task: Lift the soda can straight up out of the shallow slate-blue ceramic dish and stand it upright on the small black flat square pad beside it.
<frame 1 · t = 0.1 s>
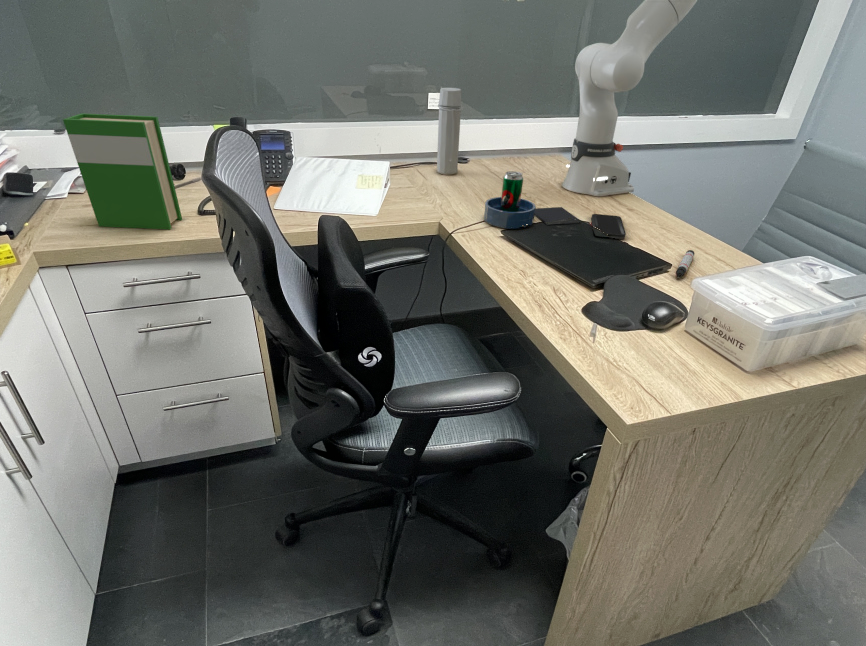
hand: (513, 1, 138), 48 cm above the table, tool pointing down, fingers open, 8 cm apart
phone: (606, 228, 143), on the table
soda can: (508, 220, 145), resting on dish
marker: (682, 269, 123), on the table
dish: (508, 221, 145), on the table
hardback book: (141, 223, 136), on the table
black flat square pad: (554, 217, 149), on the table
water bottle: (447, 174, 182), on the table
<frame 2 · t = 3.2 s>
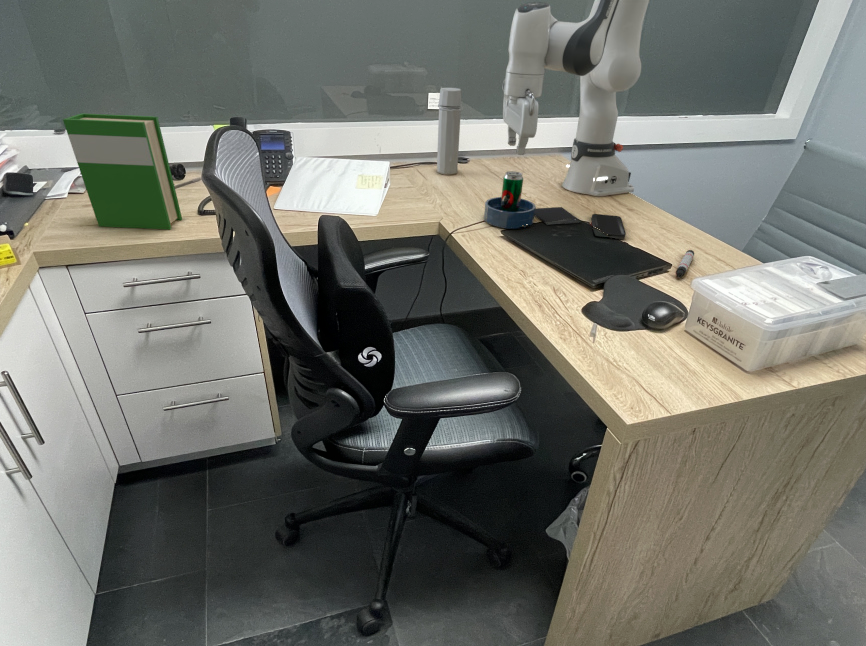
hand: (515, 149, 134), 18 cm above the table, tool pointing down, fingers open, 8 cm apart
nothing on the table moved.
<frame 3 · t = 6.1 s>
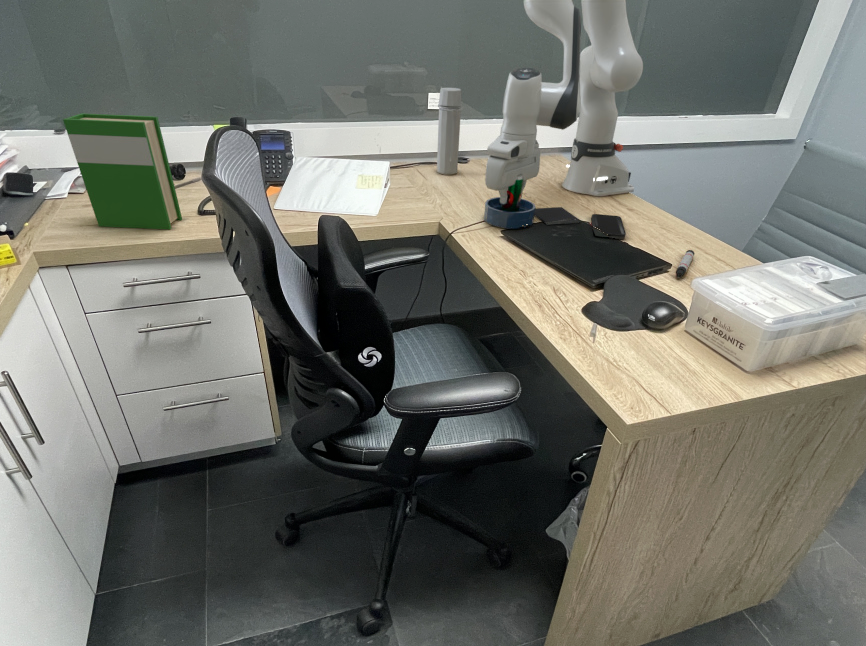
hand: (510, 200, 142), 6 cm above the table, tool pointing down, fingers closed on soda can, 5 cm apart
soda can: (508, 220, 145), resting on dish, touching gripper
everything else where it was.
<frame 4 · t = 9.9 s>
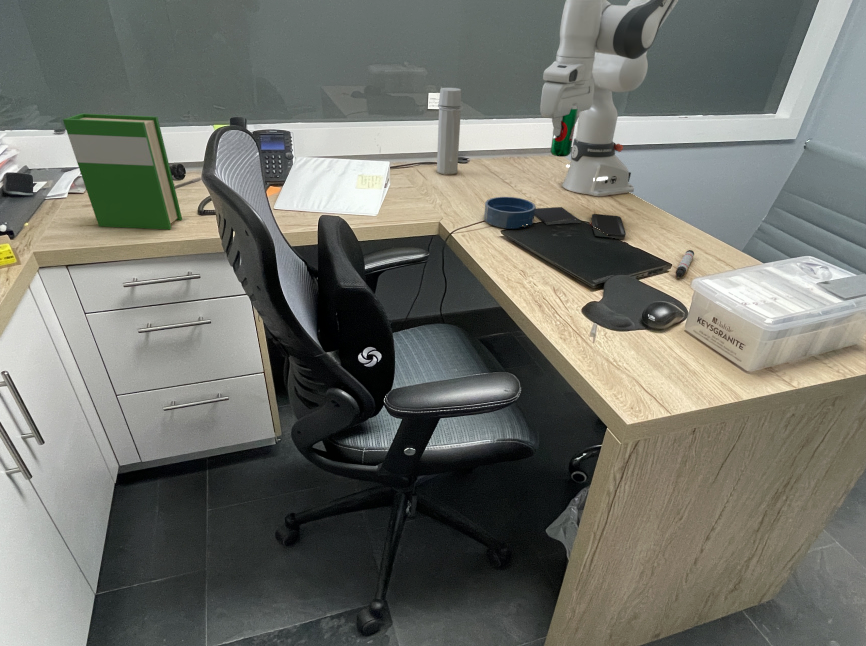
hand: (563, 133, 136), 21 cm above the table, tool pointing down, fingers closed on soda can, 5 cm apart
soda can: (559, 155, 139), point 16 cm above the table, touching gripper
everything else where it was.
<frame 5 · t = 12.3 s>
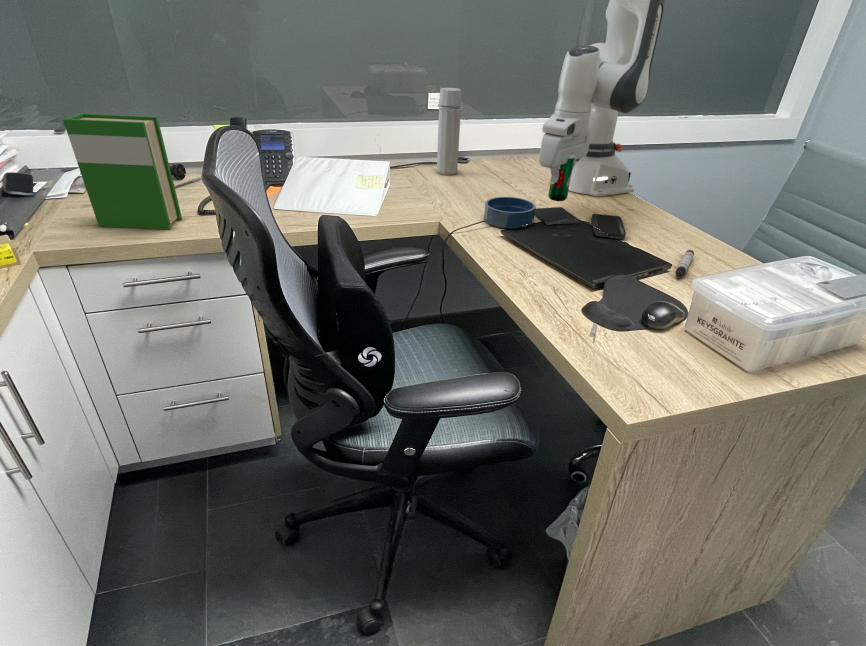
hand: (560, 179, 143), 10 cm above the table, tool pointing down, fingers closed on soda can, 5 cm apart
soda can: (557, 199, 146), point 5 cm above the table, touching gripper
everything else where it was.
when the fingers open (5 cm above the table, at t = 13.9 s): soda can stays where it is, resting on black flat square pad.
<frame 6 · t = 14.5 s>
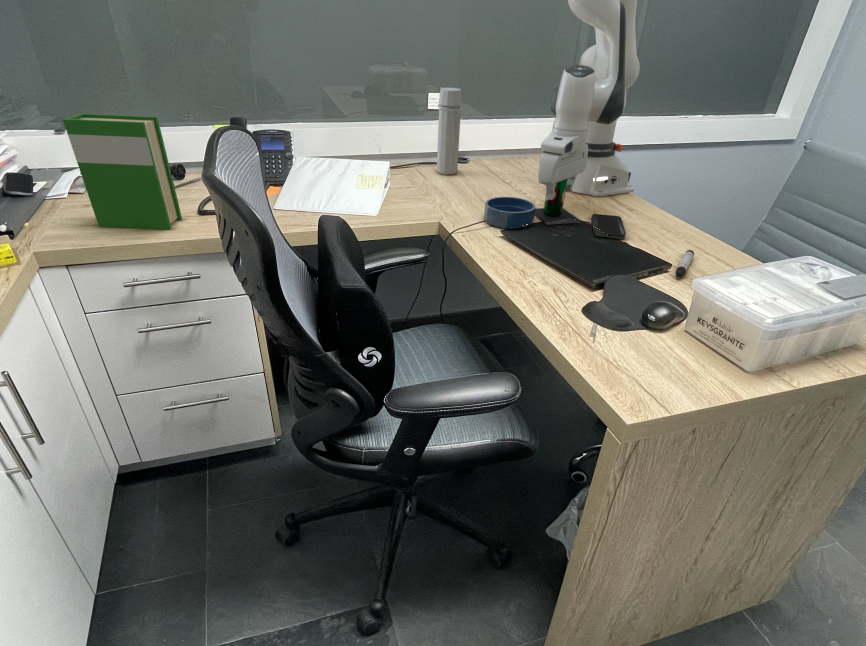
hand: (559, 195, 145), 6 cm above the table, tool pointing down, fingers open, 8 cm apart
soda can: (552, 215, 149), resting on black flat square pad
everything else where it was.
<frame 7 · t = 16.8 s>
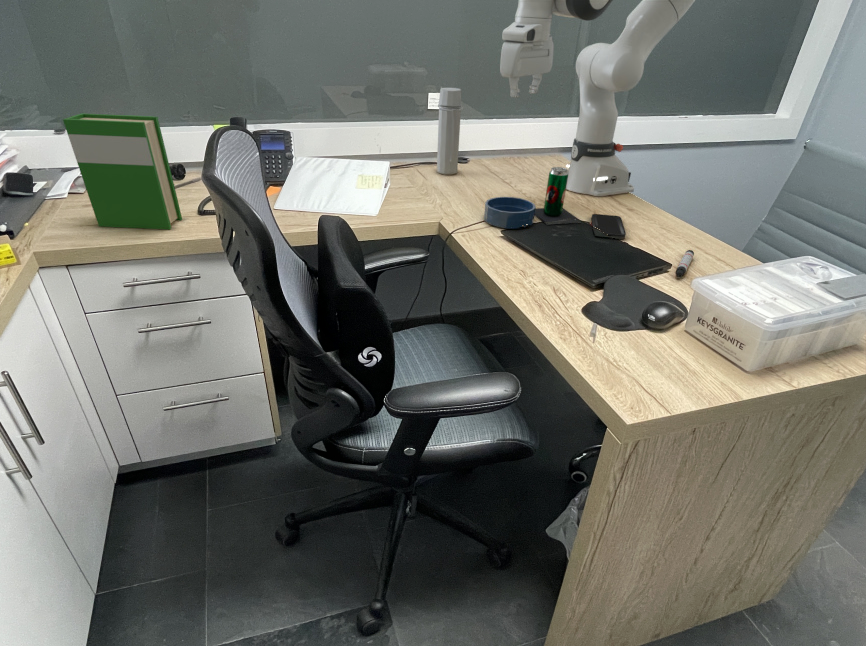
hand: (523, 95, 140), 28 cm above the table, tool pointing down, fingers open, 8 cm apart
nothing on the table moved.
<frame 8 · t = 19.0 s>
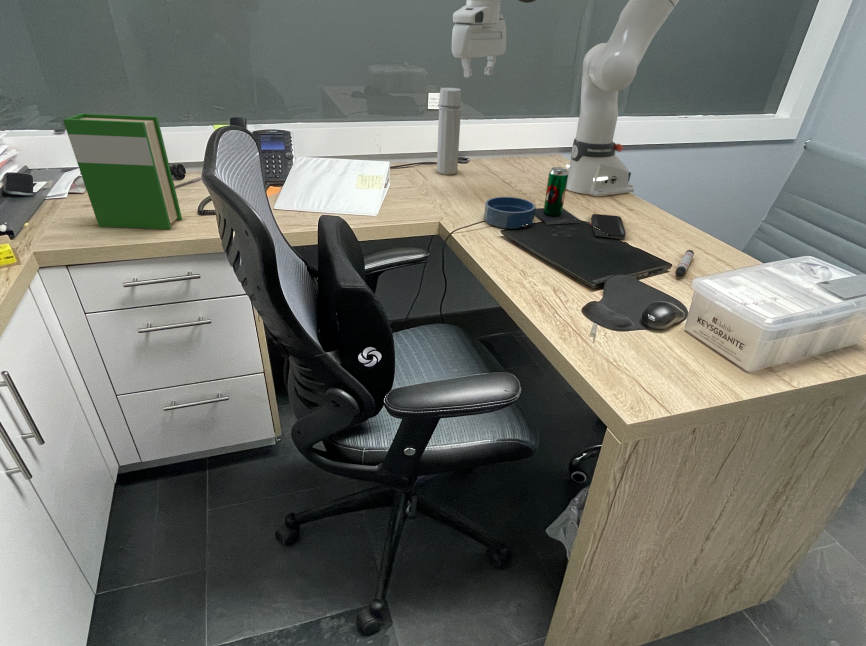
hand: (478, 75, 147), 31 cm above the table, tool pointing down, fingers open, 8 cm apart
nothing on the table moved.
at the end: soda can touching black flat square pad; soda can inside the target area on the black flat square pad (0.7 cm from its centre), point 0.4 cm above the black flat square pad's base; soda can tilted 0° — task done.
